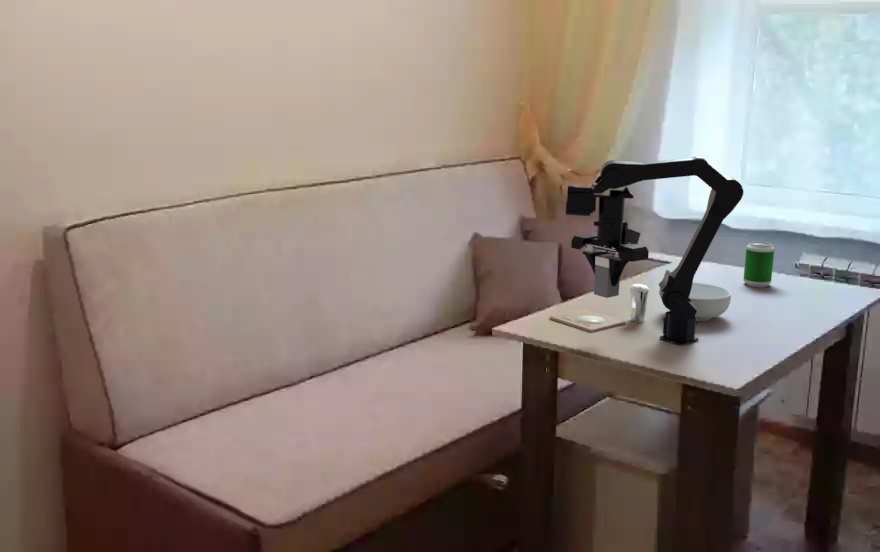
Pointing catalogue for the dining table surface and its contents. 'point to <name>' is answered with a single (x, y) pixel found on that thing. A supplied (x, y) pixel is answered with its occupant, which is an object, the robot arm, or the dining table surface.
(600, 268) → the grey and white block
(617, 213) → the robot arm
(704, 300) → the cereal bowl
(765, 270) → the soda can
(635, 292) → the milkshake
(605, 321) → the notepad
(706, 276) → the dining table surface
